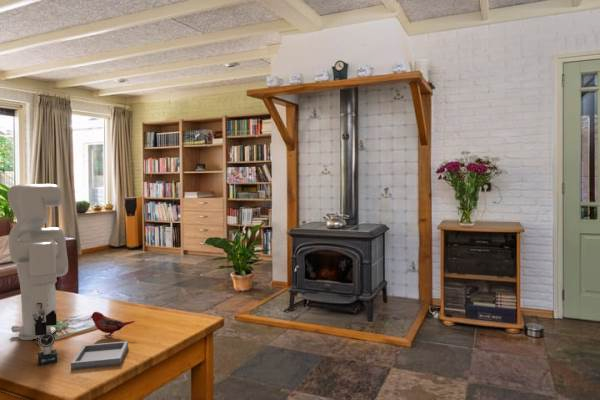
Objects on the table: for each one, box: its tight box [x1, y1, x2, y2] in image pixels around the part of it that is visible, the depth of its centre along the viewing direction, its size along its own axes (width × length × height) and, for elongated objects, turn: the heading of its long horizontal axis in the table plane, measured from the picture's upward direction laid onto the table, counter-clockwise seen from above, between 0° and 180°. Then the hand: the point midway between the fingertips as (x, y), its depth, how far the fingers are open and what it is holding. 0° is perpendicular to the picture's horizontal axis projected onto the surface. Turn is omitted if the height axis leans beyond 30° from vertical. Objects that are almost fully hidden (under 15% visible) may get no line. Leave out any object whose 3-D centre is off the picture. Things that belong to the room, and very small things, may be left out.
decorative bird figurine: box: [89, 311, 136, 338], centre depth 168 cm, size 3×18×10 cm, turn 88°
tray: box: [70, 341, 129, 371], centre depth 149 cm, size 15×15×2 cm
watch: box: [37, 329, 59, 368], centre depth 146 cm, size 6×8×11 cm
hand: (46, 329), depth 145 cm, fingers open, 9 cm apart
